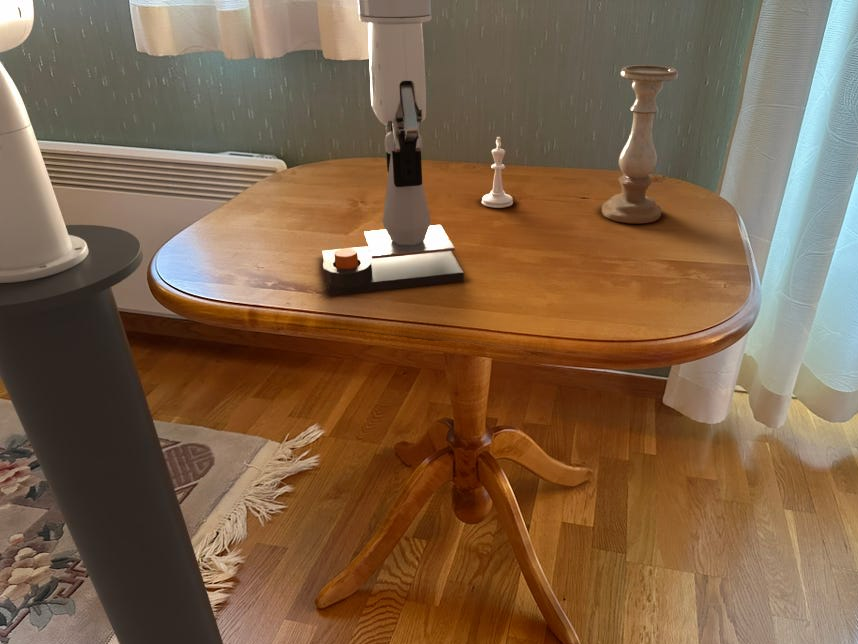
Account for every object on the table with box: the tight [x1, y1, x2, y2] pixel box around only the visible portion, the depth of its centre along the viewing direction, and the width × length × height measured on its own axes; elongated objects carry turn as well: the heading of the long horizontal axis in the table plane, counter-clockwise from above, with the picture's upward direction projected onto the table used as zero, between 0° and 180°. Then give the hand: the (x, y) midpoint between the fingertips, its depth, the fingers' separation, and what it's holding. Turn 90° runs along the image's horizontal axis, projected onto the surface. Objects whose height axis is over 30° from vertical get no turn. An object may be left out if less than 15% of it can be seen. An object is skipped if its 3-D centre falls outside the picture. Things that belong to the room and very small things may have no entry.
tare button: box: [334, 247, 358, 269], centre depth 78 cm, size 3×3×2 cm
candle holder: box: [601, 64, 679, 224], centre depth 96 cm, size 9×9×20 cm
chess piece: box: [481, 136, 514, 209], centre depth 103 cm, size 5×5×10 cm
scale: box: [321, 245, 465, 297], centre depth 83 cm, size 16×12×3 cm
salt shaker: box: [382, 129, 432, 245], centre depth 80 cm, size 6×6×13 cm
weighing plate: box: [363, 224, 456, 259], centre depth 84 cm, size 10×8×1 cm
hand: (404, 177), depth 80 cm, fingers closed on salt shaker, 4 cm apart
